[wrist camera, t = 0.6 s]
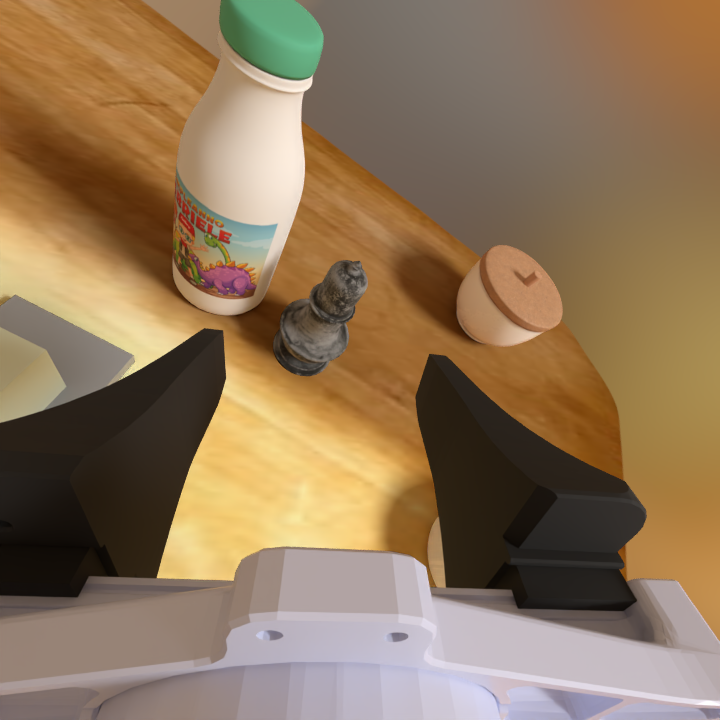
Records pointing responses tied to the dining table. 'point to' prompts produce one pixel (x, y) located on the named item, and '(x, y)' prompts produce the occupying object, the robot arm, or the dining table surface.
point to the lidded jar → (507, 299)
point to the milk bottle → (244, 156)
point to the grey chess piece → (320, 321)
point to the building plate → (66, 349)
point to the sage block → (25, 377)
